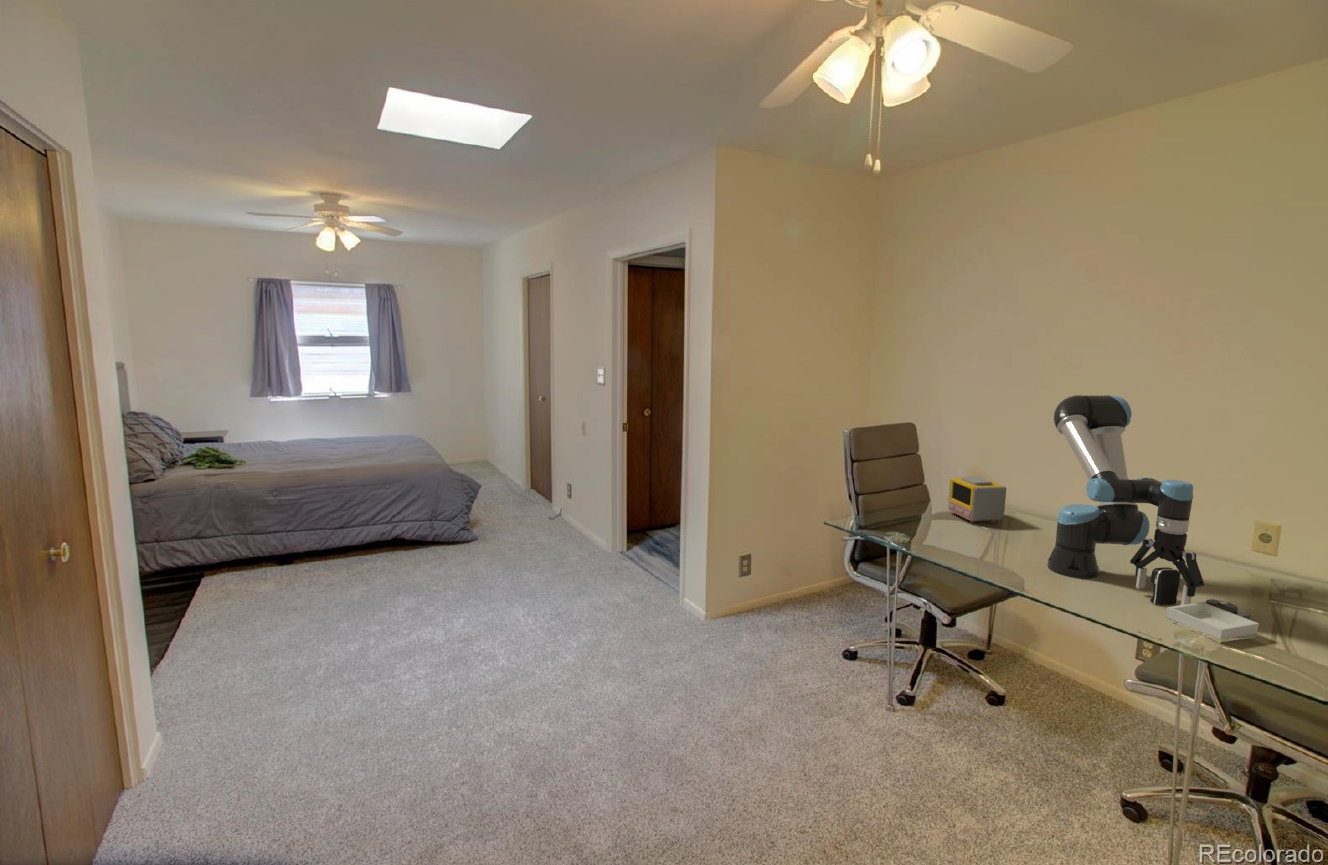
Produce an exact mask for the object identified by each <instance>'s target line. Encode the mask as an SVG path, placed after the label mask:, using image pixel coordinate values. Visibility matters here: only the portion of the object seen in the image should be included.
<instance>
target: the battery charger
mask: <svg viewBox="0 0 1328 865" xmlns="http://www.w3.org/2000/svg"><path fill="white" fill-rule="evenodd" d="M1149 582H1150V583H1151V584H1152V586H1153V594H1152V597H1151V598H1150V601H1149V602H1150V603H1152V604H1154V605H1156V606H1171V605H1172V604H1173V605H1176V604H1177V601H1178V600H1177V598H1178V593H1179V588H1180V582H1181V574H1180V572H1179V570H1178V569H1177V568H1176V569H1175V568H1172V567H1165V566H1163V567H1155V568H1153V569H1152V572H1151V577H1150V581H1149Z"/></svg>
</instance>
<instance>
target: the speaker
mask: <svg viewBox="0 0 1328 865" xmlns="http://www.w3.org/2000/svg"><path fill="white" fill-rule="evenodd" d="M1203 602H1204V603H1206V604H1209V605H1212V606H1214V607H1217V608H1220V609H1222V610H1225V611H1227V612H1230V613H1233V614H1235V615H1238V616H1241V617H1243V618H1246V619H1248V620H1251V616H1252V614H1249V613H1247V612H1244V611H1242V610H1239V607H1238V606H1237V605H1236V604H1234V603H1232V602H1229V601H1226V600H1223V599H1214V598H1212V599H1210V598H1208V599H1207V600H1205V601H1203Z"/></svg>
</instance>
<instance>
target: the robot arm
mask: <svg viewBox="0 0 1328 865" xmlns="http://www.w3.org/2000/svg"><path fill="white" fill-rule="evenodd" d="M1131 418H1132V409H1131V406H1130V404H1129V402H1128V401H1127V400H1126V399H1124V398H1123V397H1121V396H1117V395H1116V396H1115V395H1110V394H1109V395H1108V394H1105V395H1082V394H1081V395H1078V394H1076V395H1072V396H1068V397H1067V398H1064V399H1063V400H1062V401H1060V402H1059V403H1058V405H1056V408H1055V409H1054V412H1053V423H1054V426H1055V428H1056V430H1057V432H1058V433H1059V434H1060V435H1061V434H1062V435H1064V437H1065V439H1066V441H1067V443H1068V445H1069V447H1070V448H1071V450H1072V452H1073V454H1074V456H1075V457H1076V459H1077V460H1078V463H1079V464H1080V466H1081V468H1082V470H1083V472H1084V473H1085V475H1086V477H1087V479H1088V481H1087V483H1086V486H1085V488H1086V489H1085V490H1086V495H1087V497H1088V498H1089V500H1091V501H1093V502H1099V503H1098V504H1096V506H1095V505H1093V504H1092V505H1091V504H1084V503H1083V504H1082V503H1075V504H1067V505H1064V506H1062V507H1061V508H1060V509H1059V511H1058V515H1057V523H1056V534H1055V546H1054V548H1053V550H1052V551H1051V554H1050V556H1049V557H1048V559H1047V568H1048V569H1049V570H1051V571H1053V572H1055V573H1058V574H1060V575H1063V576H1067V577H1072V578H1077V579H1078V578H1079V579H1093V578H1094V579H1095V578H1097V577H1098V576H1099V573H1100V568H1099V565H1098V559H1097V557H1096V546H1097V544H1105V545H1107V544H1108V545H1122V546H1130V545H1131V546H1132V545H1133V546H1134V545H1135V546H1136V545H1139V544H1141V546H1140V547H1139V549H1138V550H1137V551H1136V553H1134V555H1133V556H1132V558H1131V559H1130V560H1129V563H1130V565H1131V564H1133V565H1134V567H1135V574H1134V575H1135V577H1136V583H1135V584H1136V585H1135V588H1136V589H1145V588H1146V580H1147V572H1148V568H1146V567H1147V566H1148V565H1149V564H1152V562H1154V561H1155V560H1156V559H1158V558H1159V559H1161V560H1165V561H1168V562H1171V563H1172V564H1173V565H1174V566H1175V567H1176V570H1178V571H1179V572H1180V576H1181V577H1182V578H1183V581H1184V582H1185V584H1183V588H1182V589H1183V590H1182V596H1181V602H1180V605H1185V604H1192V603H1191V602H1192V598H1193V597H1195V595H1196V589H1197V588H1200V587H1204V586H1205V581H1204V579H1203V576H1202V573H1201V570H1200V567H1199V565H1198V561H1197V553H1196V552H1194V551H1193V552H1192V551H1191V552H1189V551H1186V550H1185V547H1186V545H1187V538H1188V534H1187V533H1188V532H1189V524H1190V518H1191V517H1190V516H1191V512H1192V506H1193V499H1194V486H1193V484H1192V483H1191V482H1188V481H1186V480H1185V481H1183V480H1180V479H1179V480H1178V479H1165V480H1162V481H1159V480H1158V479H1155V478H1151V477H1144V476H1142V477H1138V478H1136V479H1129V477H1128V472H1127V471H1128V469H1127V464H1126V459H1125V451H1124V445H1123V438H1122V434H1123V433H1124V432H1126V427H1127V426H1129V425H1130V423H1131ZM1138 504H1148V505H1149V504H1150V505H1153V506H1155V507H1157V514H1156V515H1157V516H1156V521H1155V522H1156V523H1155V530H1154V536H1153V539H1152V538H1147V537H1148V535H1149V533H1150V521H1149V517H1148V516H1147V514H1146V513H1145V512H1144V511H1141V510H1139V506H1138ZM1146 538H1147V539H1146ZM1151 548H1153V549H1154V550H1153V551H1152V552H1150V553H1149V554H1148V556H1146V555H1147V553H1148V552H1149V551H1150V550H1151ZM1145 556H1146V557H1145Z"/></svg>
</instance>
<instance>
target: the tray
mask: <svg viewBox="0 0 1328 865" xmlns="http://www.w3.org/2000/svg"><path fill="white" fill-rule="evenodd" d="M1204 602H1205V601H1200V602H1198V601H1197V602H1193V603H1191V604H1185V605H1181V604H1179V605H1174V606H1169V607H1168V606H1167V607H1166V611H1165V618H1167V619H1169V620H1172V621H1174V622H1176V623H1181V624H1183V625H1185V626H1188V627H1190V628H1194V629H1197V630H1199V631H1200V632H1203V633H1206V634H1210V635H1212V636H1214V637H1216V638H1218V639H1229V638H1245V639H1244V640H1247V639H1252V638H1256V637H1258V631H1259V624H1260V623H1259V622H1256V621H1253V620H1251V619H1250V620H1248V619H1246V618H1243V617H1241V616H1238V615H1235V614H1233V613H1230V612H1227V611H1225V610H1222V609H1220V608H1217V607H1214V606H1212V605H1209V604H1206V603H1204ZM1165 618H1164V619H1165Z"/></svg>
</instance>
